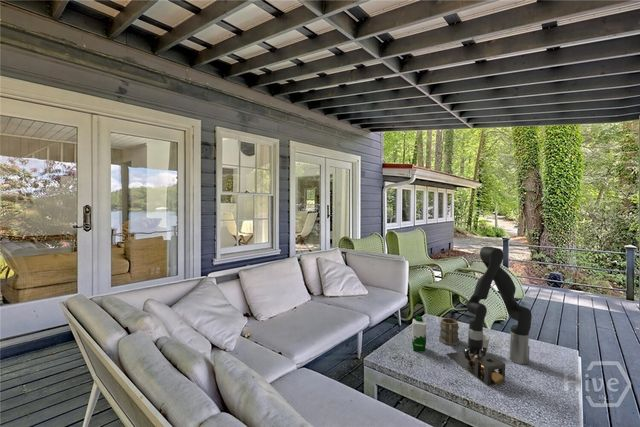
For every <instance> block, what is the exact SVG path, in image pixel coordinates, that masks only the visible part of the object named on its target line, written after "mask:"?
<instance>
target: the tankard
mask: <svg viewBox="0 0 640 427" xmlns="http://www.w3.org/2000/svg"><path fill="white" fill-rule="evenodd" d="M439 323H440V324H439V326H440V327H439V328H440V330H439V333H440V334H439V335H438V341H439V342H440V343H442V344H444V345H448V346H456V345H460V338H459V335H460V334H459V328H460V326H459V323H458V320H456V319H454V318H451V317H450V318H448V317H444V318H441V321H440V322H439Z"/></svg>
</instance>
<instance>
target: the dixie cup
mask: <svg viewBox="0 0 640 427" xmlns="http://www.w3.org/2000/svg"><path fill="white" fill-rule="evenodd" d="M489 342H490V336H488V335H485V334H483V346H484V347H485V348H487V350H486V354H485V355H487V354H488V348H489Z"/></svg>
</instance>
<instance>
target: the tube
mask: <svg viewBox="0 0 640 427" xmlns="http://www.w3.org/2000/svg"><path fill="white" fill-rule="evenodd" d="M470 358H471V357H470ZM475 358H476V356H475V357H474V358H473V360H472V361H473V367H474V368H475ZM466 361H467V362H468V360H467V359H466ZM484 368H485V366H484V365H483V364H481V373H483V374H484ZM491 380H492V381H494V382H495V383H497V384H498V385H497V386H500V385H503V384H504V383H503V381H504V377H503V376H502V375H501V374H499V373H498V371H497V370H491ZM502 383H503V384H502Z"/></svg>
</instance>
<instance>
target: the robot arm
mask: <svg viewBox="0 0 640 427" xmlns="http://www.w3.org/2000/svg"><path fill="white" fill-rule="evenodd" d="M479 256H480V260H481V262H482V263H483V265H484V266H485V267H486V270H485V272H484V273H483V274H481V276H480V278H478V280H477V282H476V285H475V287H474V292H473V293H472V294H471V297H469V299H468V301H467V303H466V310H467V312H468V313H471V314H473V315H475V317H470V318H469V321H468V322H469V323H468V336H467V338H468V340H467V341H468V342H467V343H468V347H467V348H464V349H463V353H464V354H465V358H466V359H467V360H468V365H469V366H470V367H473V361H472V360H473V358H474V357H475V358H477V357H484V356H486V355H487V354H486V350H487V351H488V349H487V348H485V347H484V346H483V335H484V322H485V319H486V316H487V314H488V313H487V312H488V310H487V307H486V305H485V304H483V303H481V302H480V301H481V300H487V298H488V296H489V292H490V289H491V286H492V283H493V282H494V284H495V286H496V289H497V290H498V292H499V294H500V296H501V299H502V301H503V303H504V305H505V308H506V312H507V314H508V316H509V317H510V318H511V319H513V320H515V321H517V324H514V325H511V326H510V335H509V336H510V340H509V341H510V342H509V360H510V361H511V362H513V363H515V364H519V365H526V364H528V363H529V362H530V348H531V347H530V346H529V339H530V338H529V337H530V336H529V335H530V331H531V327H532V317H533V316H532V314H533V313H532V311H531V310H530V309H529V308H528V307H525V306H522V305H520V304H519V303H518V302H517V299H516V298H515V294H516V285H515V283H514V280H513V278H512V277H511V276H510V275H509V273H508V272H507V271H505V270H504V268H503V267H501V264H502V263H503V260H504V256H505V255H504V251H503V250H502V249H501V248H499V247H498V248H497V247H493V246H483V247H481V249H480V250H479ZM470 357H471V358H470Z"/></svg>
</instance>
